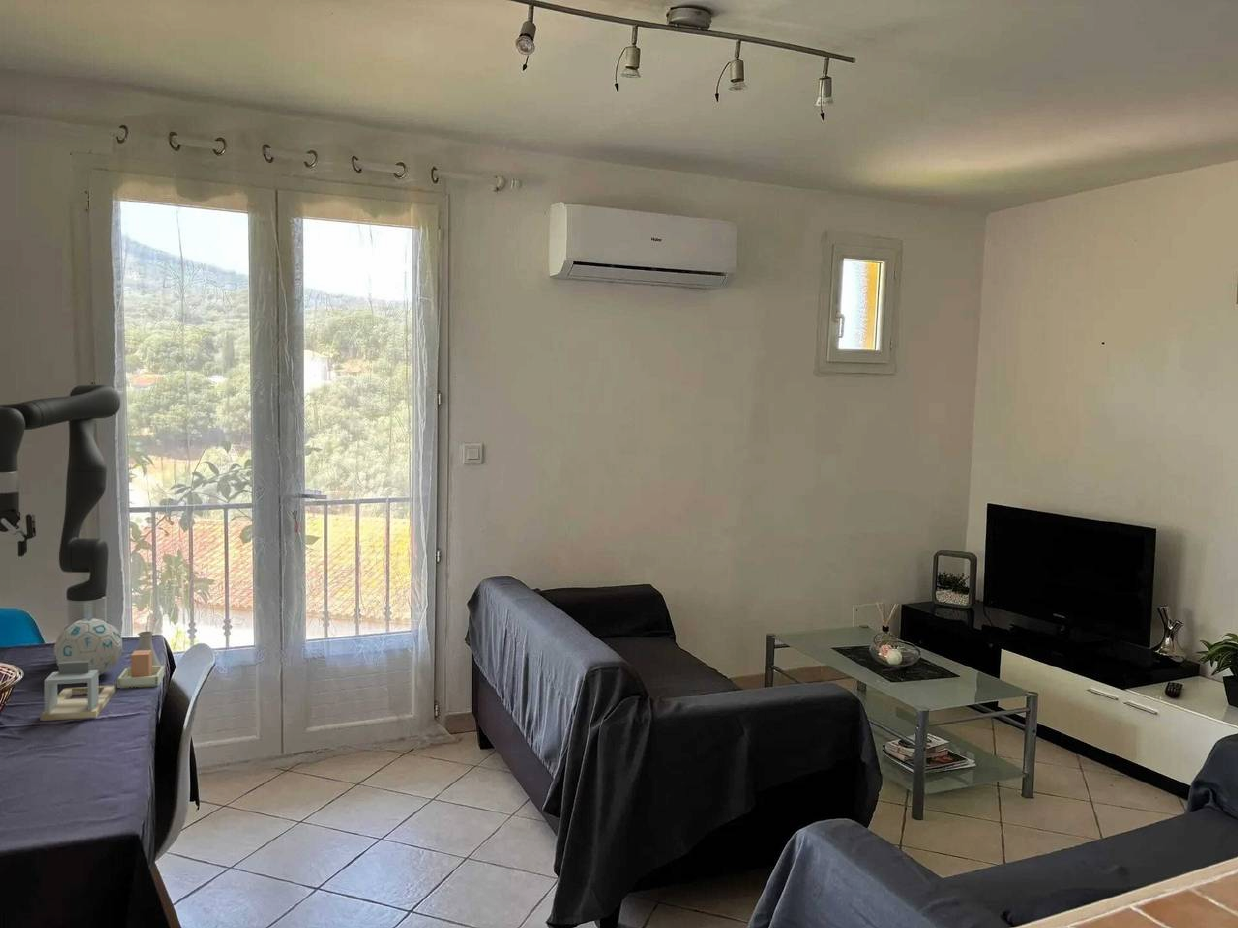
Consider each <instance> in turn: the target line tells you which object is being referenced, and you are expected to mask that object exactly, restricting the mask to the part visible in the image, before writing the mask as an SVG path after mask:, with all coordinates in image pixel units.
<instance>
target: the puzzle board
mask: <svg viewBox="0 0 1238 928" xmlns="http://www.w3.org/2000/svg"><path fill="white" fill-rule="evenodd" d="M115 693H116V685H103V686H102V685H100V686H99V701H98V703H97V704H96V705H95V706H94V708H93V709H92V710H89V711H88V701H87V697H78V698H71V697H72V696H81V695H84V694H85V695H87V686H82V687H81V686H80V687H66V688H63V689H62V690H60V693H59V694H57V704H56V706H55V707H54V708H53V709H52V710H51V711H50V712H49V713H45V709H44V710H43V711H42V712H41V713H40V717H39V719H40V722H49V721H51V722H52V721H63V720H67V721H68V720H79V719H80V720H81V719H95V718H97V717H98V716H99V714H100V713H101V712H102V711H103V709H104V708H105V706H106V705H107V703H108V702H109V701H110V699H111V698H112V696H113V695H114V694H115Z"/></svg>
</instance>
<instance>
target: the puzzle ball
mask: <svg viewBox="0 0 1238 928" xmlns="http://www.w3.org/2000/svg"><path fill="white" fill-rule="evenodd" d="M122 652H123V639H122V637H121V634H120V632H119V630H118V629H117V628H116V627H115V626H113V624H111V623H109V622H108V621H107V622H106V621H102V620H100V619H95V618H93V619H92V618H90V619H83V620H79V621H77V622H75V623H72V624H71V625H69V626H68V627H67V626H66V627H65V628H64V629H63V631H61V632H60V633H59V635H58V636H57V638H56V641H55V644H54V646H53V657H54V660H55V663H56V665H57V666H58V664H59V663H60V662H64V661H85V660H90V670H98V677H100V676H101V675H103V674H105V673H106V672H108V671H109V670H110V669H111V668H113V667H114V666H115V665H116V664H117V663H118V661H119V659H120V657H121V654H122Z"/></svg>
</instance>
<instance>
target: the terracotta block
mask: <svg viewBox="0 0 1238 928" xmlns="http://www.w3.org/2000/svg"><path fill="white" fill-rule="evenodd" d="M137 650H138V649H137ZM137 650H133V652H132V654H130V667H131V677H148V676H152V650H138V651H137Z"/></svg>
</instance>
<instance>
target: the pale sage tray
mask: <svg viewBox="0 0 1238 928" xmlns="http://www.w3.org/2000/svg"><path fill="white" fill-rule="evenodd" d="M165 668H166V667H165V665H161V666H152V676H148V677H131V666H129V667H125V668H124V669H123V671H122V672H121V673H120V674H119V676H118V677H117V678H116V679H117V681H116V682H117V684H116V685H117V686H116V687H117V688H120V689H135V688H136V687H138V688H152V687H153V688H154V687H156V688H157V687H158V686H159V684H161V681H162V680H163V678H164V676H166V675H165V673H166V671H165ZM130 687H131V688H130ZM133 687H135V688H133Z"/></svg>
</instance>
